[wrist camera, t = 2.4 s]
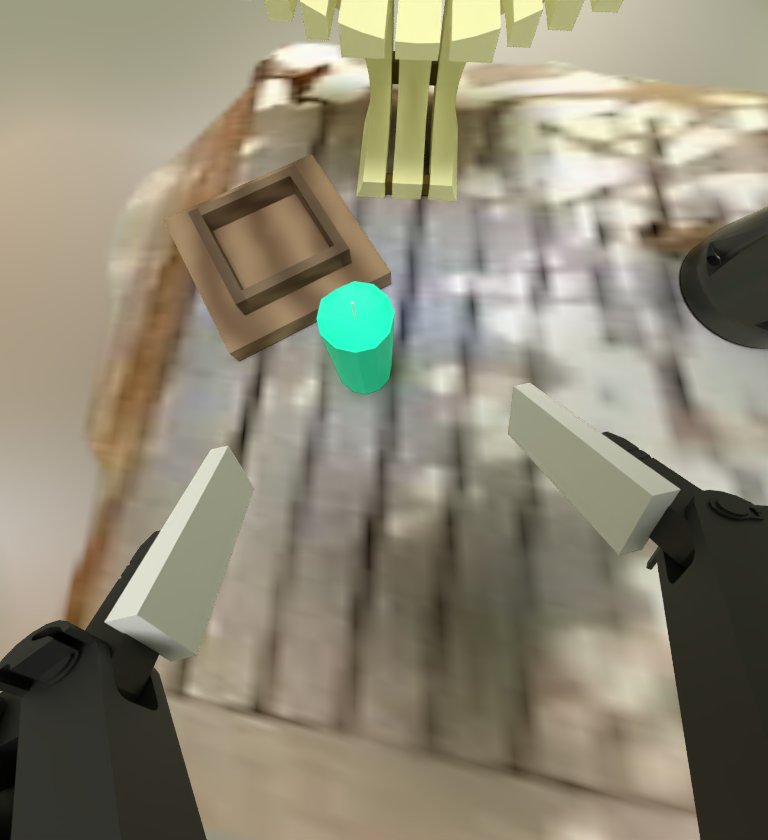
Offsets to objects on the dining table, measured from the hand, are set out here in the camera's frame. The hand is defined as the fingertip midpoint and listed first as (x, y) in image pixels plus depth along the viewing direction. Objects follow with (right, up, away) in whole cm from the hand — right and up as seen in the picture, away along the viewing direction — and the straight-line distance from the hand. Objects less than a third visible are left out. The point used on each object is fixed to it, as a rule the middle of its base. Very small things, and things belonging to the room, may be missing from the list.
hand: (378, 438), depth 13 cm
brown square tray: (-13, +21, +21) cm, 32 cm away
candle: (-2, +7, +18) cm, 20 cm away
